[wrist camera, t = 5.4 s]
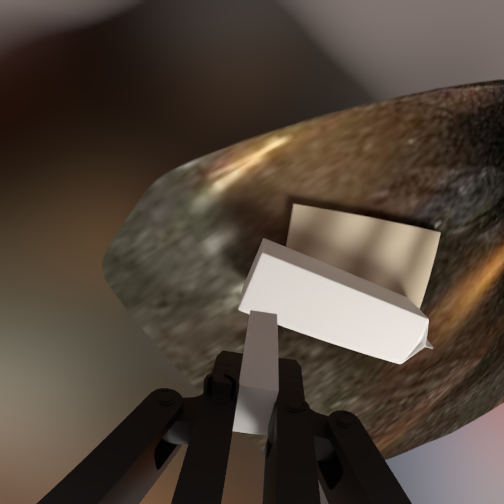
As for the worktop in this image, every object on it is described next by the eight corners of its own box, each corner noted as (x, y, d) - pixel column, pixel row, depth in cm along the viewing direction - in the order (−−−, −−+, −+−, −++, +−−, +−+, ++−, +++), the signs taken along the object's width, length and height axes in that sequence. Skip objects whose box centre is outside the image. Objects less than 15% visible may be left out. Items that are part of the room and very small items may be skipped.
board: (435, 230, 31) (440, 232, 30) (410, 320, 35) (413, 325, 33) (292, 202, 32) (293, 204, 31) (275, 306, 35) (275, 310, 34)
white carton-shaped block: (242, 286, 33) (401, 345, 34) (236, 310, 27) (419, 371, 28) (263, 236, 32) (425, 305, 33) (262, 250, 26) (448, 327, 27)
